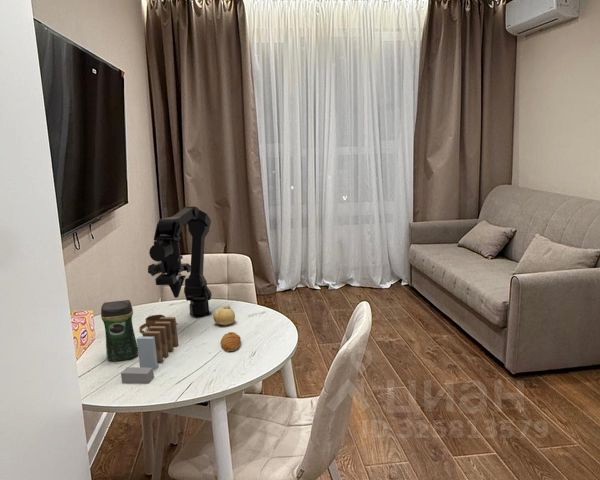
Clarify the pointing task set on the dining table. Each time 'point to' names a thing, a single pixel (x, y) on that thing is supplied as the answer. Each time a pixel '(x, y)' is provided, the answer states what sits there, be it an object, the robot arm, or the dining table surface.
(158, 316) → the place setting
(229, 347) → the pastry
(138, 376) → the stop block
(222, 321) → the onion
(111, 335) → the coffee jar
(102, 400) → the dining table surface
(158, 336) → the domino
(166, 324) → the domino
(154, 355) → the domino
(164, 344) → the domino
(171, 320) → the domino
